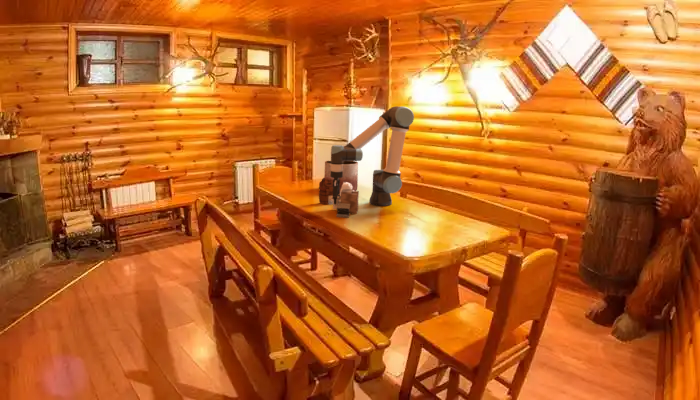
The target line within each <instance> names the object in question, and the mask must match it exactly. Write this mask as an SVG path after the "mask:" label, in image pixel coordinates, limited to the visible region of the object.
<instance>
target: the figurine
mask: <svg viewBox="0 0 700 400" xmlns="http://www.w3.org/2000/svg"><path fill="white" fill-rule="evenodd" d="M352 188H353V187H352V184H350V183H348V182H346V183H344V182H343V185H342V188H341V190H340V193H339V195H340V196H341V191H342V189H352ZM353 191H354V190H353Z"/></svg>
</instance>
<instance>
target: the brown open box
mask: <svg viewBox="0 0 700 400" xmlns="http://www.w3.org/2000/svg"><path fill="white" fill-rule="evenodd" d="M359 195H360V194H359V191H358V190H356V191H352V189H342V191H341V203H346V204H350V214H354V215H356V214H358V211H359V204H358V205H357V198H358V199H359Z"/></svg>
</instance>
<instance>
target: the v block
mask: <svg viewBox="0 0 700 400" xmlns="http://www.w3.org/2000/svg"><path fill="white" fill-rule="evenodd" d="M336 211H337V212H336V218H346V219H347V218H349V217H350V214H351V213H350V204H346V203H339V205H338V206H337V209H336Z"/></svg>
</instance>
